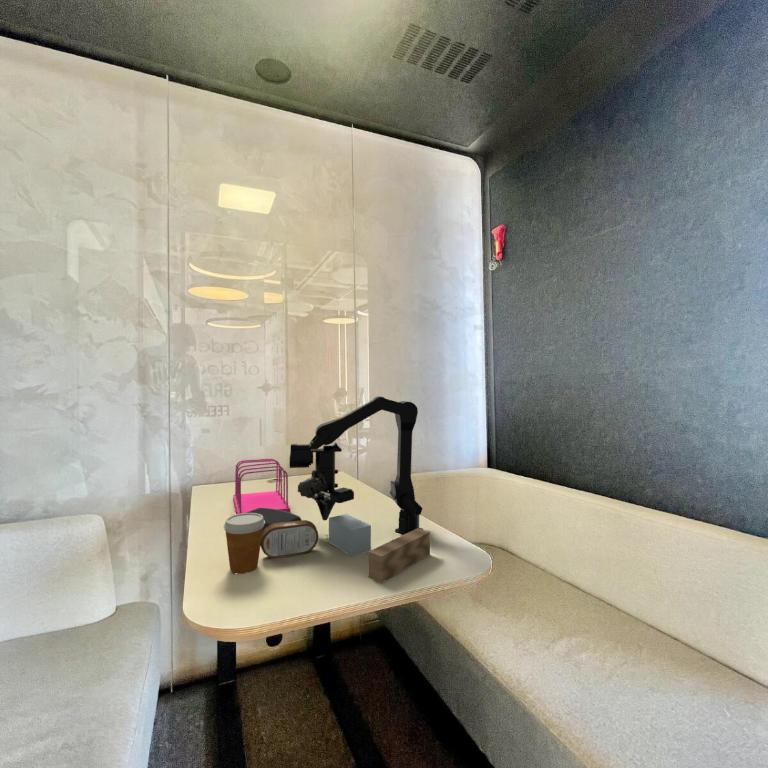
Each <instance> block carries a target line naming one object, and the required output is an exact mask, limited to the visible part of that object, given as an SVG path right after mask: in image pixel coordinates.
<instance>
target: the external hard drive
mask: <svg viewBox="0 0 768 768" xmlns="http://www.w3.org/2000/svg"><path fill="white" fill-rule="evenodd" d="M246 513H257V514H261V515H262V516H263V519H264V520H265V524H264V527H263V530H262V532H263V531H264V529H265V528H267V527H268V526H269V525H271V524H274V523H282V522H292V521H301V520H302V518H301V516H299V514H298V515H297V514H295V513H292V512H286V511H282V510H277V509H270V508H258V509H255V510H252V511H249V512H246Z"/></svg>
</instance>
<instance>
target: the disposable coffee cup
mask: <svg viewBox="0 0 768 768" xmlns="http://www.w3.org/2000/svg"><path fill="white" fill-rule="evenodd" d="M264 524H265V520H264V519H263V516H262V515H261V514H257V513H242V514H237V513H236V514H233V515H230V516H229V517H227V518H226V519H225V522H224V524H223V525H222V527H223V529H224V531H225V537H226V545H227V554H228V555H227V556H228V562H229V570H230V572H231V573H232V572H233V574H236V573H237V575H243V574H248V573H252V572H254V571H255V570H256V569H258V567H259V559H260V550H261V546H260V545H261V538H262V530H263V527H264Z"/></svg>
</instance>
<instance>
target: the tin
mask: <svg viewBox="0 0 768 768" xmlns="http://www.w3.org/2000/svg"><path fill="white" fill-rule="evenodd" d="M318 541H319V531H318V529H317V527H316V525H315V524H314V523H313V522H312V521H310V520H306V519H305V520H304V519H301V521H292V522H282V523H274V524H271V525H269V526H268V527H267V528H265V529H264V531H263V532H262V538H261V545H260V550H262V552H263V554H264V555H265V556H267V557H269V558H272V559H273V558H274V559H278V558H283V557H291V556H298V555H304V554H308V553H309V552H311V551H312V550H314V548H315V547H316V546H317V543H318Z"/></svg>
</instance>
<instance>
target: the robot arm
mask: <svg viewBox="0 0 768 768" xmlns="http://www.w3.org/2000/svg"><path fill="white" fill-rule="evenodd" d="M380 411H385V412H389V413H391V414H394V417H395V423H396V427H397V431H398V432H397V433H398V434H397V457H396V458H397V461H396V464H397V465H396V477H395V480H390V483H389V484H390V492H389V495H390V496H391V498H392V500H393V501H394V503H395V504H396V505H397V507H398V508H399V509H400V510H399V512H398V527H397V528H395V529H394V532H397V533H400V534H403V535H404V534H406V533H409V532H411V531H413V530H415V529H417V528H419V529H422V530H424V528H422V527H420V516H421V513H422V511H423V507H422V506H421V505H420V504H419V503H418V502H417V501H416V495H415V488H414V485H413V482H412V450H413V449H412V447H413V430H414V428H415V425H416V423H417V418H418V413H419V411H418V407H417V405H416V404H415V403H414V402H411V401H406V400H401V401H399V402H398V401H395V400H391V399H388V398H385V397H384V396H376V397H374V398H373V399H371V400H370V401H368V402H366V403H365V404H363V405H361V406H359V407H357V408H355V409H354V410H352V411H350V412H348V413H347V414H345V415H343V416H341V417H339V418H335V419H332V420H329V421H327V422H324V423H320V424H319V425H318V426H317V427H316V428H315V433H314V434H315V435H314V436H313V438H312V439H311V440H310V442H309V444H306V443H305V444H297V443H291V444H290V453H289V454H290V455H289V469H301V468H302V469H303V468H304V469H305V468H310V466H312V465H315V469H313V470H312V472H311V477H309V478H306V479H305V480H303V481H300V482H299V483H298V485H297V493H299V495H300V496H301V497H305V498H306V499H312V500H314V501H315V502H316V504H317V507H318V511H319V512H320V517H321V519H322V521H327V520H329V518H330V517H329V516H330V515H331V513H332V510H333V508H334V506H335V504H336V503H337V504H343V503H345V502H349V501H352V500H354V499H355V491H354V490H353V488H349V487H339V483H336V474H339V469H336V453H339V452H342V448H341V447H340V446H339V444H338V443H337V442H335V441H337V440H338V439H339V438H340V437H341V436H342V435H343V434H344V433H345V432H347V430H348V429H350V428H352V427H354V426H356V425H358V424H359V423H361V422H363V421H365V420H366V419H368V418H370V417H371V416H373V415H375V414H377V413H379V412H380ZM332 443H334V444H332ZM331 444H332V445H331ZM321 447H322V448H321ZM314 453H315V460H314ZM314 461H315V464H314ZM338 487H339V488H338ZM336 488H337V489H336Z"/></svg>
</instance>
